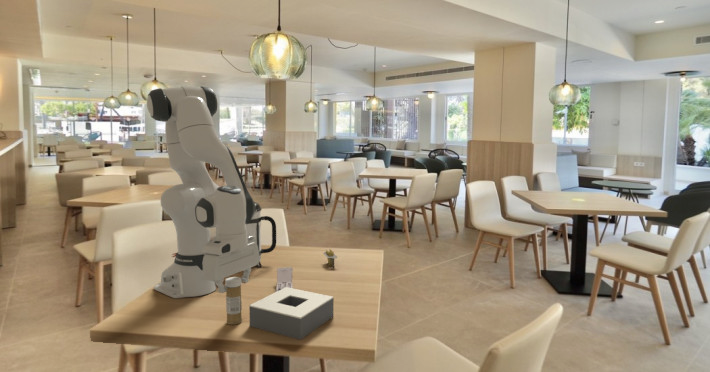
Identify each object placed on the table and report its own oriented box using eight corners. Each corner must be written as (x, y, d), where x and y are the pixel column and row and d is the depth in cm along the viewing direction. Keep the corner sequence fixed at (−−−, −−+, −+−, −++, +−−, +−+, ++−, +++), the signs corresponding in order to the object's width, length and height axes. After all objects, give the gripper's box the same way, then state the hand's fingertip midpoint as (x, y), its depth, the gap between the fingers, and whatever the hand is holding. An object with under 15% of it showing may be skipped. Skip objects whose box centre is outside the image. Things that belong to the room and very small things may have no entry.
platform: (321, 272, 184) (321, 257, 184) (311, 261, 201) (311, 246, 200) (349, 270, 188) (349, 254, 188) (336, 258, 205) (336, 244, 204)
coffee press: (248, 273, 181) (247, 199, 178) (221, 266, 190) (219, 196, 186) (277, 262, 196) (277, 195, 192) (250, 257, 204) (249, 192, 201)
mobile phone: (292, 266, 172) (293, 288, 147) (292, 281, 172) (293, 305, 148) (276, 267, 171) (274, 289, 146) (277, 282, 172) (274, 306, 147)
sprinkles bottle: (243, 318, 137) (242, 276, 135) (240, 325, 132) (239, 281, 131) (228, 319, 137) (227, 276, 135) (224, 325, 132) (223, 281, 130)
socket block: (249, 326, 132) (249, 305, 131) (286, 305, 148) (286, 287, 147) (300, 339, 123) (300, 317, 123) (333, 316, 139) (333, 296, 139)
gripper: (247, 233, 142) (249, 276, 143) (197, 248, 124) (200, 296, 125) (263, 235, 139) (265, 278, 140) (214, 250, 121) (217, 300, 122)
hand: (234, 287), depth 133 cm, fingers open, 8 cm apart
